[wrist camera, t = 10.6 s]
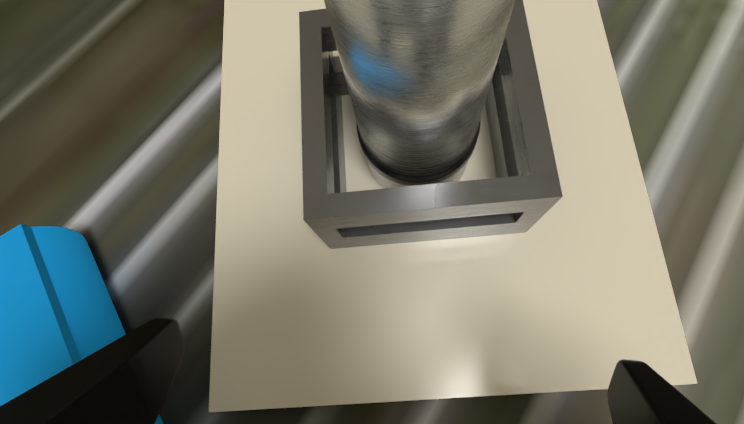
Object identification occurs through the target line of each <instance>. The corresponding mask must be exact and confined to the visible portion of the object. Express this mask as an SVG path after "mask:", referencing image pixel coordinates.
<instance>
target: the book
mask: <svg viewBox="0 0 744 424" xmlns="http://www.w3.org/2000/svg"><path fill="white" fill-rule="evenodd" d="M124 335H126V333H125V331H124V329H123V326H122V324H121V321H120V319H119V317H118V314H117V312H116V309H115V307H114V305H113V302H112V300H111V298H110V295H109V293H108V290H107V288H106V286H105V283H104V281H103V279H102V276H101V274H100V271H99V269H98V267H97V264H96V262H95V260H94V257H93V255H92V252H91V250H90V248H89V245H88V243H87V241H86V239H85V237H84V236H83V235H81V234H80V233H78V232H76V231H74V230H71V229H67V228H62V227H52V226H38V227H29V226H26V225H22V224H20V225H18V226H17V227H15V228H13V229H12V230H10V231H8V232H7V233H5V234H3V235H2V236H0V406H1V405H3V404H5V403H7V402H8V401H10V400H12V399H14V398H15V397H17V396H19V395H21V394H22V393H24V392H26V391H28V390H29V389H31V388H33V387H35V386H36V385H38V384H40V383H42V382H43V381H45V380H47V379H49V378H50V377H52V376H54V375H56V374H57V373H59V372H61V371H63V370H64V369H66V368H68V367H70V366H71V365H73V364H75V363H77V362H78V361H80V360H82V359H84V358H85V357H87V356H89V355H91V354H92V353H94V352H96V351H98V350H99V349H101V348H103V347H105V346H106V345H108V344H110V343H112V342H113V341H115V340H117V339H119V338H120V337H122V336H124ZM155 424H163V421H162V419H161V417H160V414H159V415H158V418H157V420H156V422H155Z"/></svg>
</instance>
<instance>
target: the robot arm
mask: <svg viewBox="0 0 744 424" xmlns="http://www.w3.org/2000/svg"><path fill="white" fill-rule="evenodd" d="M184 354H185V344H184V341H183V338H182V334H181V331H180V327H179V324H178V322H177V321H176V320H175V319H173V318H165V317H156V318H154V319H152V320H150V321H148V322H147V323H145V324H143V325H141V326H140V327H138V328H136V329H134V330H133V331H131V332H129V333H127V334H126V335H124V336H122V337H120V338H119V339H117V340H115V341H113V342H112V343H110V344H108V345H106V346H105V347H103V348H101V349H99V350H98V351H96V352H94V353H92V354H91V355H89V356H87V357H85V358H84V359H82V360H80V361H78V362H77V363H75V364H73V365H71V366H70V367H68V368H66V369H64V370H63V371H61V372H59V373H57V374H56V375H54V376H52V377H50V378H49V379H47V380H45V381H43V382H42V383H40V384H38V385H36V386H35V387H33V388H31V389H29V390H28V391H26V392H24V393H22V394H21V395H19V396H17V397H15V398H14V399H12V400H10V401H8V402H7V403H5V404H3V405H1V406H0V424H155V422H156V420H157V418H158V415H159V413H160V411H161V409H162V406H163V404H164V402H165V399H166V397H167V395H168V392H169V390H170V388H171V385H172V383H173V381H174V378H175V376H176V374H177V371H178V369H179V367H180V364H181V362H182V360H183V357H184ZM607 396H608V403H609V408H610V412H611V417H612V421H613V424H716V423H715V422H714V421H713V420H711V419H710V418H709V417H708V416H707V415H706V414H704V413H703V412H702V411H701V410H700V409H699V408H698V407H696V406H695V405H694V404H693V403H692V402H691V401H689V400H688V399H687V398H686V397H685V396H684V395H682V394H681V393H680V392H679V391H678V390H677V389H675V388H674V387H673V386H672V385H671V384H670V383H668V382H667V381H666V380H665V379H664V378H663V377H661V376H660V375H659V374H658V373H657V372H656V371H655V370H653V369H652V368H651V367H650V366H649V365H647V364H646V363H644V362H642V361H637V360H626V359H622V360H619V361H618V362H617V364H616V367H615V369H614V372H613V375H612V378H611V381H610V384H609V387H608V393H607Z"/></svg>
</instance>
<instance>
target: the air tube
mask: <svg viewBox="0 0 744 424" xmlns="http://www.w3.org/2000/svg"><path fill="white" fill-rule="evenodd" d="M324 2H325V6H326V10H327V13H328V17H329V21H330V25H331V28H332V32H333V36H334V39H335V43H336V47H337V50H338V54H339V58H340V61H341V65H342V69H343V73H344V76H345V80H346V84H347V87H348V91H349V95H350V98H351V102H352V106H353V109H354V113H355V117H356V121H357V124H356V125H357V134H358V138H359V142H360V145H361V149H362V151H363V154H364V156H365V157H366V159H367V161H368V165H369V168H370V171H371V173H372V175H373V177H374V179H375V180H376V181H377V183H378V184H379V185H380V186H381V187H382V188H383V189H384V188H395V187H406V186H416V185H427V184H437V183H448V182H458V181H459V180H460V179H461V177H462V176H463V174H464V172H465V169H466V167H467V163H468V160H469V158H470V157H471V155H472V153H473V151H474V149H475V146H476V142H477V139H478V135H479V132H480V119H481V115H482V112H483V109H484V105H485V102H486V98H487V95H488V92H489V88H490V85H491V81H492V78H493V74H494V71H495V68H496V64H497V61H498V57H499V54H500V51H501V47H502V44H503V40H504V37H505V33H506V30H507V27H508V23H509V20H510V16H511V13H512V10H513V6H514V3H515V0H324Z"/></svg>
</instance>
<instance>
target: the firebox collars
mask: <svg viewBox="0 0 744 424" xmlns="http://www.w3.org/2000/svg"><path fill="white" fill-rule="evenodd" d="M299 34H300V81H301V128H302V175H303V220H304V221H305V222H306V223H307V224H308V226H309V227H310V228H311V229H312V230H313V231H314V232H315V233H316V234H317V235H318V236H319V237H320V238H321V239H322V241H323V242H324V243H325V244H326V245H327V246H328V247H329V248H330V249H338V248H350V247H361V246H373V245H385V244H397V243H408V242H420V241H432V240H444V239H455V238H467V237H479V236H491V235H502V234H514V233H526V232H527V231H528V230H529V229H530V228H531V227H532V226H533V225H534V224H535V223H536V222H537V221H538V220H539V219H540V218H541V217H542V216H543V215H544V214H545V213H546V212H547V211H549V210H550V209H551V208H552V207H553V206H554V205H555V204H556V203H557V202H558V201H559V200H560V199H561V198H562V197H563V196H562V191H561V186H560V181H559V176H558V171H557V166H556V161H555V156H554V151H553V146H552V141H551V136H550V131H549V127H548V122H547V117H546V112H545V107H544V102H543V97H542V92H541V87H540V82H539V77H538V72H537V67H536V62H535V58H534V53H533V48H532V43H531V38H530V33H529V28H528V23H527V18H526V13H525V8H524V3H523V0H515V3H514V6H513V10H512V13H511V16H510V20H509V23H508V27H507V30H506V33H505V37H504V40H503V44H502V47H501V51H500V54H499V57H498V61H497V64H496V68H495V71H494V74H493V78H492V81H491V85H490V88H489V92H488V95H487V98H486V102H485V106H486V113H487V119H488V125H489V131H490V138H491V144H492V150H493V157H494V163H495V169H496V176H497V178H490V179H480V180H469V181H458V182H448V183H437V184H427V185H416V186H406V187H395V188H384V189H374V190H363V191H353V192H347V189H346V170H345V151H344V132H343V112H342V95H349V91H348V87H347V84H346V80H345V76H344V73H343V69H342V65H341V61H340V58H339V56H334V55H333V51H338V50H337V47H336V43H335V39H334V36H333V32H332V28H331V25H330V21H329V17H328V13H327V10H326V9H318V10H310V11H302V12H299Z"/></svg>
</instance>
